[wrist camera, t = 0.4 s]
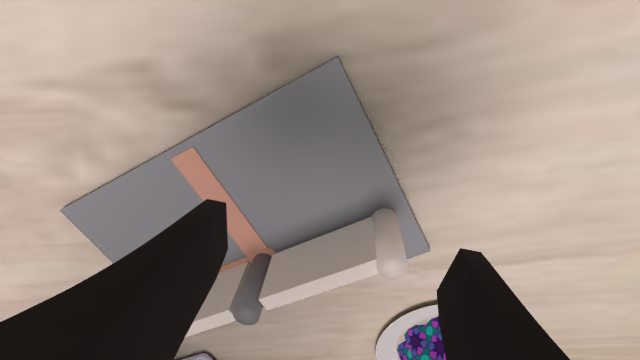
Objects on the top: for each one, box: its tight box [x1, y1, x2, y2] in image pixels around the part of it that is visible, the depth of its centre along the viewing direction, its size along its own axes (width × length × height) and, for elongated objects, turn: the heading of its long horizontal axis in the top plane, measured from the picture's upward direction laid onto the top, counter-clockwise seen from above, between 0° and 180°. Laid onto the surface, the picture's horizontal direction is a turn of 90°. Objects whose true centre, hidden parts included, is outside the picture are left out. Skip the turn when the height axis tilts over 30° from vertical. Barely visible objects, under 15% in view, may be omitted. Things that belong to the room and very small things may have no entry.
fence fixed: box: [185, 253, 272, 337], centre depth 23 cm, size 11×2×5 cm, turn 118°
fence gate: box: [258, 208, 408, 311], centre depth 20 cm, size 9×2×4 cm, turn 118°
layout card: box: [60, 56, 430, 307], centre depth 23 cm, size 22×14×1 cm, turn 118°
